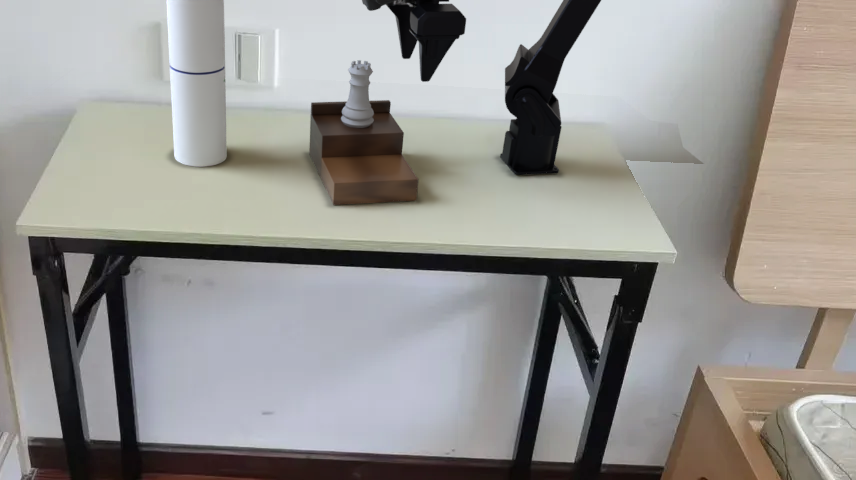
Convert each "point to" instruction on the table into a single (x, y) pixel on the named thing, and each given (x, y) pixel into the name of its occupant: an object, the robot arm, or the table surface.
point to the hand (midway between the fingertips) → (415, 69)
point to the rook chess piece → (358, 97)
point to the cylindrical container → (197, 80)
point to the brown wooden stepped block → (360, 156)
